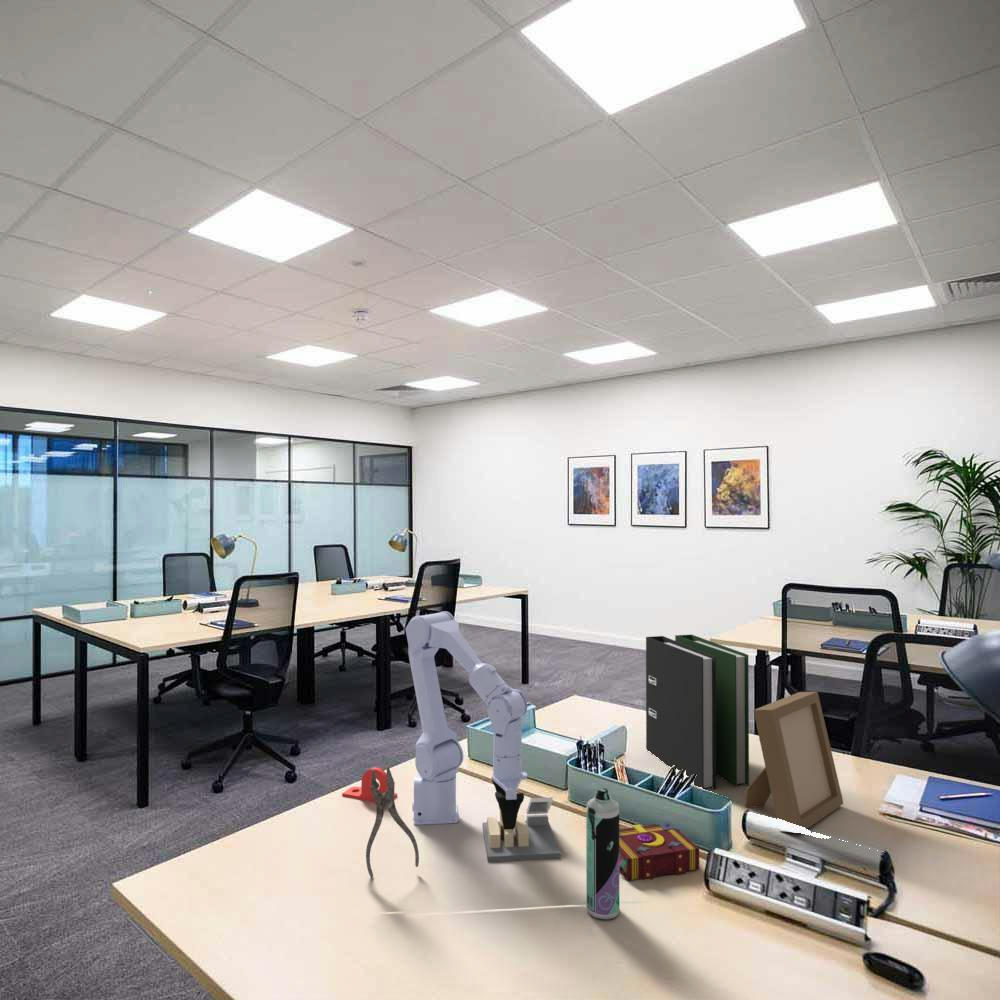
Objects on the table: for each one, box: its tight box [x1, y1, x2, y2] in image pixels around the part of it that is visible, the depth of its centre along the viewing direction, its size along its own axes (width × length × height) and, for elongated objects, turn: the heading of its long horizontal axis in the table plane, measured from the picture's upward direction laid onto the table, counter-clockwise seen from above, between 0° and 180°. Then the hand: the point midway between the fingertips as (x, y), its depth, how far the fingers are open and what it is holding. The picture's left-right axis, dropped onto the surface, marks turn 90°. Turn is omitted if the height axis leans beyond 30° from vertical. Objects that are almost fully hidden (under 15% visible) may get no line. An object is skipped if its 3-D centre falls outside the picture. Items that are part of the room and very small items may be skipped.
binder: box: [645, 634, 750, 791], centre depth 174 cm, size 27×15×32 cm, turn 15°
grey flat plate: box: [526, 796, 554, 815], centre depth 139 cm, size 4×8×1 cm
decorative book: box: [619, 820, 700, 881], centre depth 128 cm, size 11×16×5 cm
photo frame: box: [744, 691, 844, 829], centre depth 150 cm, size 15×22×25 cm
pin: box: [499, 809, 513, 840], centre depth 135 cm, size 3×3×6 cm
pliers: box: [365, 765, 420, 879], centre depth 123 cm, size 10×1×20 cm, turn 101°
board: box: [481, 814, 561, 863], centre depth 135 cm, size 14×14×4 cm
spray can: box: [585, 788, 620, 920], centre depth 113 cm, size 6×6×20 cm
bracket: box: [341, 766, 398, 803], centre depth 156 cm, size 12×4×8 cm, turn 69°
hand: (507, 820), depth 135 cm, fingers open, 6 cm apart
